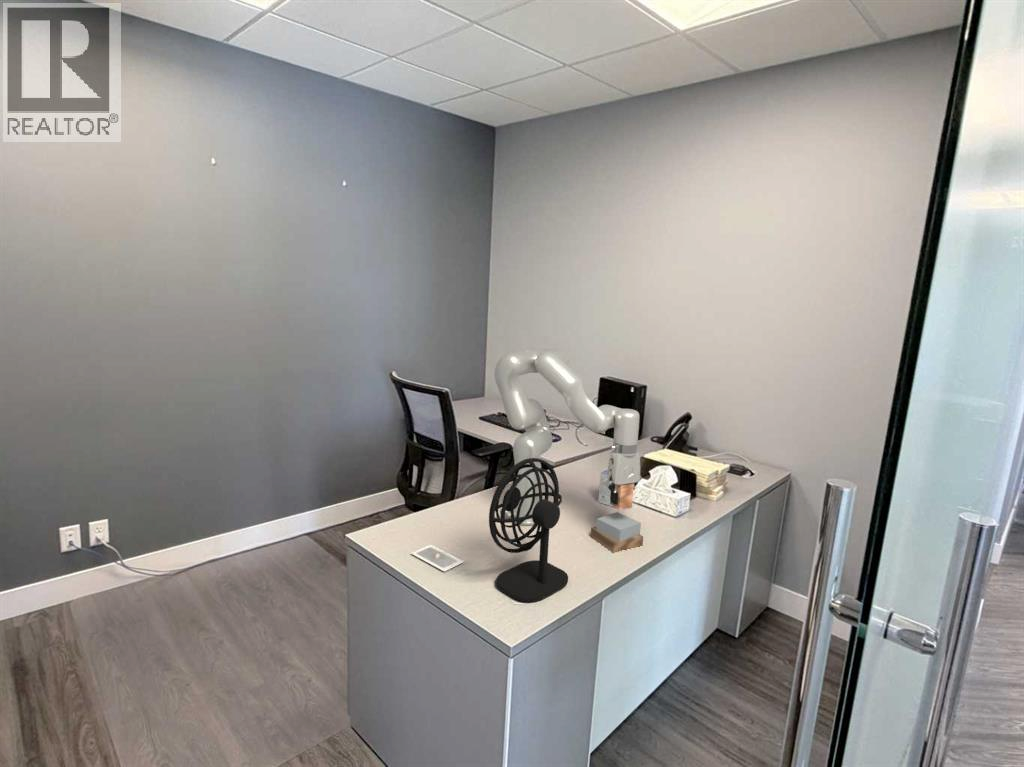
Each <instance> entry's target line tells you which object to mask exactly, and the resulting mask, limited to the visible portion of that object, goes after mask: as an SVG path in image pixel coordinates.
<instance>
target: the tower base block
mask: <svg viewBox="0 0 1024 767" xmlns="http://www.w3.org/2000/svg"><path fill="white" fill-rule="evenodd" d="M590 538H591V539H593V541H595V542H596V543H598V544H599V543H600V544H601V545H600V544H599V545H600V546H602V547H603V546H604V547H603V548H604V549H606V548H607V549H608V550H607V549H606V550H607V551H609V552H610V551H611V553H612V554H616V553H615V552H617V553H620V552H619V551H621V552H623V551H622V550H625V551H628V550H627V549H630V550H632V549H631V548H634V549H637V548H636V547H638V548H641V547H640V546H642V547H643V544H644V536H643V535H642V534H641V533H640V534H639V535H637V536H634V537H631V538H629V539H626V540H623V541H621V542H618V541H616V540H615V539H613V538H611V537H609V536H607V535H605V534H603V533H601V532H599V531H597V530H596V526H593V527H590Z"/></svg>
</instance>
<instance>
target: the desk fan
mask: <svg viewBox="0 0 1024 767" xmlns="http://www.w3.org/2000/svg"><path fill="white" fill-rule="evenodd" d="M534 462H540V463H541V464H542V465H544V466H545V467H546V468H547V469H544V468H542V467H541V468H538V467H537V466H536V465H535V464H534ZM527 463H529V464H527ZM527 467H532V468H533V469H530V470H527V471H526V472H524V473H523V474H519V475H518V472H519V470H520V469H523V468H527ZM538 471H539V473H540V474H541V479H542V480H543V482H542V480H541V481H540V476H539V473H538ZM532 472H535V475H536V479H537V484H535V485H534V483H533V481H532V480H531V479H530V478H529V477H528V476H527V475H528V474H530V473H532ZM514 473H515V474H514ZM546 474H547V475H548V477H549V478H550V480H551V482H552V485H553V487H554V488H553V487H552V486H551V485H550V484H549V482H548V479H547V475H546ZM517 477H518V478H517ZM524 477H526V478H527V479H528V480H529V481H530V483H531V485H532V487H530V488H529V489H528V490H527V491H526V493H525V494H524V496H521V493H520V490H519V489H518V488H517V487H516V486H517V484H518V483H519V482H520V481H521V480H522V479H523V478H524ZM558 479H559V478H558V475H557V474H556V471H555V469H554V468H553V466H552V465H551V464H550V463H548V462H547V461H545V459H544V460H543V459H541V458H540V459H538V458H529V459H525V460H522V461H520V462H519V463H517V464H516V465H515V464H514V465H513V466H512V467H511V468H509V470H508V471H507V472H506V473H505V474H504V475H503V477H502V478H501V480H500V481H499V483H498V484H497V486H496V489H495V491H494V493H493V496H492V499H491V502H490V508H489V513H488V527H489V532H490V535H491V537H492V540H493V541H494V542H493V543H495V544H496V545H497V547H498V548H500V549H501V550H503V551H504V552H507V553H510V554H520V553H523V552H528V551H530V550H532V549H533V548H534V546H536V544H537V543H538V542H539V541H540V542H539V555H538V556H539V558H538V560H527V561H524V562H521V563H519V564H517V565H515V566H513V567H510V568H508V569H506V570H504V571H502V572H500V573H499V574H498V575H497V576H496V578H495V585H496V588H497V589H499V590H500V591H501V592H503V593H505V594H506V595H508V596H510V597H511V598H513V599H514V600H516V601H520V602H529V603H531V602H538V601H540V600H543V599H544V598H547V597H548V596H551V595H552V594H554V593H556V592H557V591H560V590H561V589H563V588H564V587H565V586H566V585H567V584H568V582H569V574H568V573H567V572H566V571H565V570H563V569H561V568H559V567H557V566H555V565H553V564H552V563H549V562H548V561H549V560H548V558H549V545H550V544H549V543H550V542H549V540H550V529H553V528H554V527H555V526H556V525H557V524H558V522H559V520H560V517H561V508H560V507H559V506H560V505H561V504H562V501H563V496H562V495H561V494H560V487H559V480H558ZM510 482H512V483H511V485H510V487H509V488H508V489H507V491H506V492H505V493H504V494H503V492H504V491H505V488H506V487H507V486H508V485H509V483H510ZM537 486H538V490H539V493H535V487H537ZM542 486H544V492H543V489H542ZM532 489H533V494H529V492H530V491H531V490H532ZM549 490H550V491H549ZM528 494H529V495H528ZM502 495H503V498H502V503H500V499H501V497H502ZM537 496H539V502H538V503H537V504H536V505H535V507H534V509H533V512H532V515H529V514H530V512H531V510H532V508H533V505H534V501H535V497H537ZM531 497H532V502H531V505H530V508H529V510H528V512H527V514H526V515H525V516H523V517H519V515H520V510H521V506H522V504H523V501H524V499H526V498H531ZM543 497H544V498H543ZM549 497H553V501H551V500H549ZM520 500H521V501H520ZM519 502H520V503H519ZM518 504H519V506H518ZM517 506H518V510H517V516H516V518H514V509H515V508H516V507H517ZM499 509H500V510H501V515H499V514H500V512H499ZM505 511H511V518H510V519H509V518H506V515H505ZM495 516H496V517H495ZM531 518H532V520H533V522H534V525H531V526H530V529H528V530H527V531H526V532H525V533H524V532H523V530H522V527H521V525H520V524H521V523H522V522H523V521H524V520H527V519H531ZM515 522H517V523H515ZM496 523H499V524H500V529H501V532H502V534H501V533H500V532H499V529H498V527H497V524H496ZM507 523H508V524H510V523H511V524H510V525H508V524H507ZM506 528H511V529H512V533H513V536H514V538H510V536H508V535H509V534H508V533H507V530H506ZM517 530H518V531H519V533H520V534H521V536H519V535H518V532H517ZM535 530H536V532H535V534H532V533H533V532H534V531H535ZM527 538H529V539H532V540H530V541H528V542H525V543H522V542H521V541H523V540H525V539H527ZM499 539H501V540H502V541H504V542H506V543H508V544H510V545H513V546H514V547H517V548H508V547H505V546H504V545H503V544H502V543H501V541H500V540H499Z"/></svg>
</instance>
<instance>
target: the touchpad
mask: <svg viewBox="0 0 1024 767" xmlns="http://www.w3.org/2000/svg"><path fill="white" fill-rule="evenodd" d="M410 554H411V555H413V556H415V557H416V558H418V559H421V560H422V561H424V562H426V563H428V564H430V565H431V566H433V567H435V568H437V569H438V570H441V571H442V572H447V571H449V570H451V569H452V568H455V567H456V566H458V565H460V564H462V563H464V562H465V561H463V560H462V559H460V558H458V557H456V556H455V555H452V554H450V553H448V552H446V551H444V550H442V549H441V548H438V547H436V546H434V545H432V544H429V545H427V546H424V547H422V548H420V549H418V550H415V551H413V552H410Z"/></svg>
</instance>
